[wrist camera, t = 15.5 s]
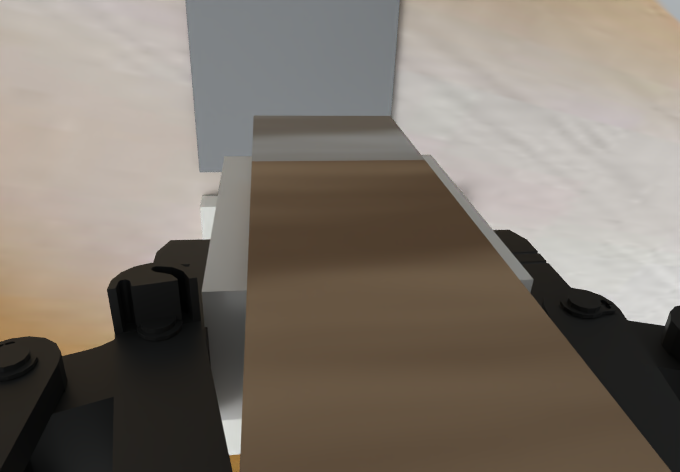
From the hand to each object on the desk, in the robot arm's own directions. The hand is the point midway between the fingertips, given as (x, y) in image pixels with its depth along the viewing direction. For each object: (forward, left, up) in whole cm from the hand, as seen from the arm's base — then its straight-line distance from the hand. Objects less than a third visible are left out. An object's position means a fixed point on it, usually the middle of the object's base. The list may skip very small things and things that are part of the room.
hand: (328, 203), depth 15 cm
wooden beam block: (0, 0, -2) cm, 2 cm away
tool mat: (0, 0, -15) cm, 15 cm away
